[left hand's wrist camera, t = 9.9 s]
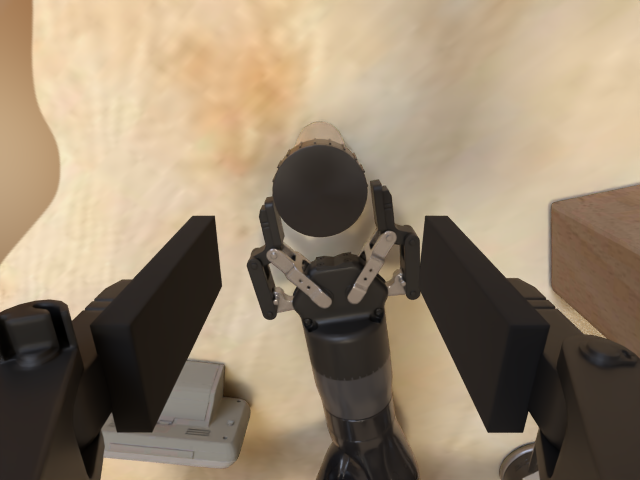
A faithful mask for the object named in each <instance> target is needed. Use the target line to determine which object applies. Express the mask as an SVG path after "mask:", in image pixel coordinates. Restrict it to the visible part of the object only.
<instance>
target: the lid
mask: <svg viewBox="0 0 640 480" xmlns="http://www.w3.org/2000/svg"><path fill="white" fill-rule="evenodd" d="M277 168H278V170H277V173H276V175H275V177H274V179H273V200H274V204H275V207H276V209H277V212H278V213H279V215H280V217H281V218H282V219H283V220H284V222H285V223H286V224H287V225H289V226H290V227H291V228H292V229H294V230H296V231H297V232H299V233H302V234H304V235H308V236H313V237H328V236H332V235H336V234H338V233H341V232H343V231H344V230H346V229H348V228H349V227H350V226H351V225H353V224H354V223H355V221H356V220H357V219H358V218H359V216H360V215H361V213H362V211H363V209H364V207H365V204H366V200H367V187H368V184H367V182H366V178H365V175H364V173H365V171H364V169H363V167H362V165H360V164H359V162H358V160H357V158H356V155H355V154H354V153H352V152H351V151H350V150H348V149H347V148H346V147H345V146H344V144H342V145H341V144H339V143H337V142H335V141H332V140H331V139H329V140H327V139H316V138H314V139H313V140H308V141H305V142H303V143H302V142H300V144H299V145H297V146H295V147H294V148H293V149H291V150H290V149H289V150H288V153H287V155H286V156H285V157H284V159H283V160H282V161H280V163H279V165H278V167H277Z"/></svg>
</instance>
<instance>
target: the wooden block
mask: <svg viewBox="0 0 640 480" xmlns="http://www.w3.org/2000/svg"><path fill="white" fill-rule="evenodd" d="M551 221H552V289H553V290H554V291H555V292H556V293H557V294H558V295H559V296H560V297H561V298H563V299H564V300H565V301H566V302H567V303H568V304H569V305H570V306H571V307H573V308H574V309H575V310H576V311H577V312H578V313H579V314H580V315H581V316H583V317H584V318H585V319H586V320H587V321H588V322H589V323H590V324H591V325H593V326H594V327H595V328H596V329H597V330H598V331H599V332H600V333H602V334H603V335H604V336H605V337H606V338H607V339H609V340H611V341H614V342H616V343H618V344H620V345H623V346H624V347H626V348H627V349H629V350H630V351H632V352H633V353H635V354H636V355H637V356H638V357H639V358H640V185H637V186H632V187H627V188H622V189H617V190H612V191H607V192H602V193H597V194H592V195H587V196H582V197H577V198H573V199H568V200H563V201H558V202H554V203H552V206H551Z"/></svg>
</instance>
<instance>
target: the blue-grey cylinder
mask: <svg viewBox="0 0 640 480" xmlns="http://www.w3.org/2000/svg"><path fill="white" fill-rule="evenodd" d="M314 138H316V139H327V140H329V139H331V140H332V141H335V142H337V143H339V144H341V145H342V144H344V141H343V139H342V136H341V134H340V132H339V131H338V130H337V129H336V128H335V127H334V126H333V125H331V124H329V123H326V122H314V123H311V124H309V125H307V126H306V127H305V128H304V129H303V130H302V131H301V132H300V134H299V136H298V139H297V141H296V144H295V146H297V145H299V144H300V142H302V143H303V142H305V141H308V140H313V139H314ZM295 146H294V147H295ZM344 146H345V144H344ZM345 147H346V146H345Z"/></svg>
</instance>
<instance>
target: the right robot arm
mask: <svg viewBox="0 0 640 480" xmlns="http://www.w3.org/2000/svg"><path fill="white" fill-rule="evenodd" d="M370 186H371V194H372V203H373V211H374V219H375V224H376V226H377V228H376V230H375V232H374V233H373V235H372V236H371V238H370V240H369V241H367V242H366V243H365V245H364V246H363V248H362V249H361V251H360V253H359V254H358V256H357V255H353V254H351V252H348V253H342V254H340V255H337V256H335V257H329V256H322V257H316V260H314V261H313V262H310V261H309V260H308V259H306V258H305V257H304V256H303V255H302V254H300V253H299V252H295V251H294V250H293V249H292V248H290V247H289V246H288V245H287V244H286V243H284V242H283V239H284V232H283V227H282V223H281V218H280V215H279V213H278V212H277V209H276V207H275V204H274V200H273V197H267V198H266V200H265V205H262V207H261V210H260V214H259V219H260V223H261V227H262V231H263V236H264V240H265V245H264V246H262V247H260V248H255V249H253V251H252V253H251V256H250V259H249V260H248V263H247V268H248V271H249V274H250V277H251V280H252V283H253V286H254V289H255V292H256V295H257V298H258V301H259V304H260V307H261V310H262V313H263V316H264V318H266V319H268V320H272V319H274V318H275V317H276V315H277V313H279V312H284V311H289V310H295V311H296V312H297V313H298V314H299V315H300V317H301V319H302V323H303V328H304V333H305V337H306V342H307V347H308V351H309V356H310V360H311V365H312V370H313V374H314V379H315V383H316V386H317V389H318V392H319V394H320V396H321V399H322V403H323V408H324V412H325V417H326V422H327V427H328V430H329V433H330V436H331V438H332V440H333V442H332V444H331V445H330V447H329V448H328V450H327V453H326V455H325V457H324V460H323V462H322V465H321V468H320V470H319V473H318V476H317V478H316V480H420V474H419V469H418V465H417V462H416V459H415V456H414V454H413V452H412V450H411V447H410V445H409V443H408V441H407V439H406V437H405V435H404V433H403V431H402V428H401V426H400V425H399V423H398V421H397V419H396V417H395V410H394V403H393V395H392V365H391V357H390V349H389V341H388V333H387V325H386V317H385V309H384V305H385V301H386V299H387V297H388V296H393V295H404V294H406V296H407V298H409V299H411V300H414V299H417V298H418V297H419V296H420V289H419V287H418V281H419V271H420V240H419V238H418V236H417V235H416V233H415V231H414V230H413V228H412V227H411V226H409V225H404V226H400V225H396V224H395V223H394V215H393V205H392V196H391V194H390V192H389V190H388V189H387V187H386V186H382V185H381V183H380V181H379V180H373V181H370ZM394 244H398V245H400V269H397V270H396V271H395V272H394V273H393V278H392V279H391V280H390V281H388V282H385V280H384V279H383V278H382V277H381V276H380V275H379V274H378V272H379V270H380V269H381V267H382V266H383V264H384V260H385V257H386V255H387V254H388V252H389V251H390V249H391V248H392V246H393V245H394ZM269 263H272V264H274V265H275V266H276V267H277V268H279V269H280V270H281V271H282V272H283V273H284V274H285V276H286V278H287V279H288V280H289V281H291V282H292V283H293V284H294V285H296V286H297V287H296V289H295V291H294V293H293V296H288V295H286V294H285V293H284V291H283V289H281V288H280V287H275V284H274V280H273V277H272V274H271V271H270V267H269ZM534 445H535V443H533V444H528V445H525V446H523V447H520V448H518V449H517V450H515V451H513V452H512V453H511V454H509V455H508V456H507V457H506V458H505V460H504V461H503V463H502V465H501V467H500V479H501V480H540V477H539V470H538V464H537V465H536V468H535V471H534V474H533V473H529V472H528V468H529V463H530V459H531V455H532V452H533V448H534Z"/></svg>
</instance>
